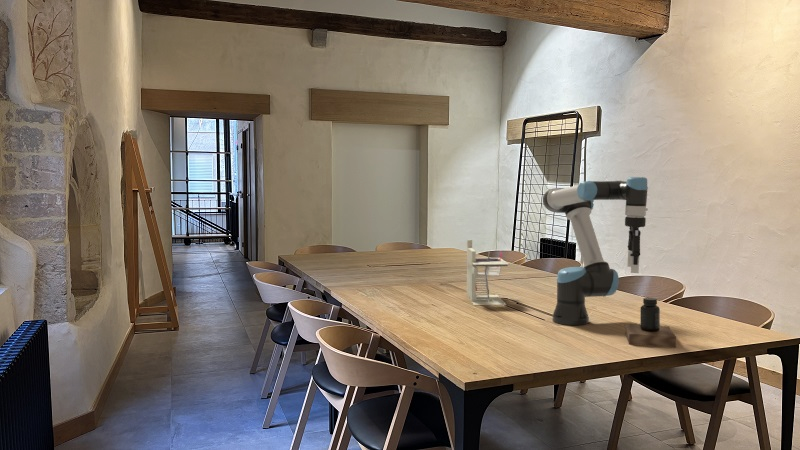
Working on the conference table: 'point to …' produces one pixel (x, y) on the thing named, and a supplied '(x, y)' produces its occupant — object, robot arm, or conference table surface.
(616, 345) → the conference table surface
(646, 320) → the supplement bottle
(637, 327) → the walnut base
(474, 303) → the white ladder tower
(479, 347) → the conference table surface
